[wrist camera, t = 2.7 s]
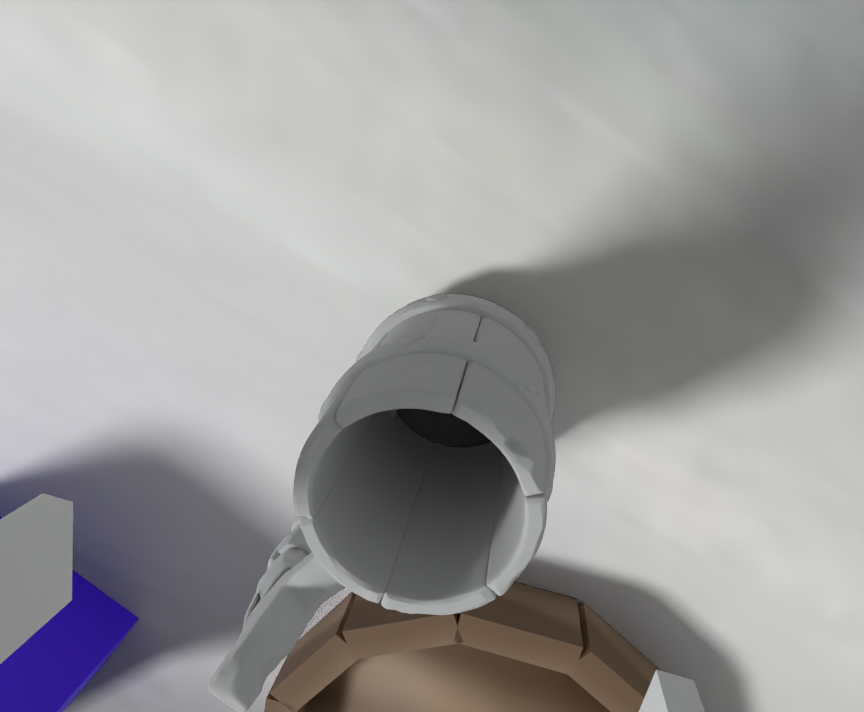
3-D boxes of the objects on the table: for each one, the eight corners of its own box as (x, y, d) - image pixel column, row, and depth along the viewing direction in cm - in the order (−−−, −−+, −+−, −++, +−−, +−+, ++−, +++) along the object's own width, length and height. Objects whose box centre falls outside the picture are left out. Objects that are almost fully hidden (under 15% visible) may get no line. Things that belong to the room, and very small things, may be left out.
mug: (594, 386, 22) (671, 591, 11) (391, 548, 26) (291, 830, 15) (460, 245, 22) (393, 310, 10) (270, 433, 25) (64, 636, 14)
